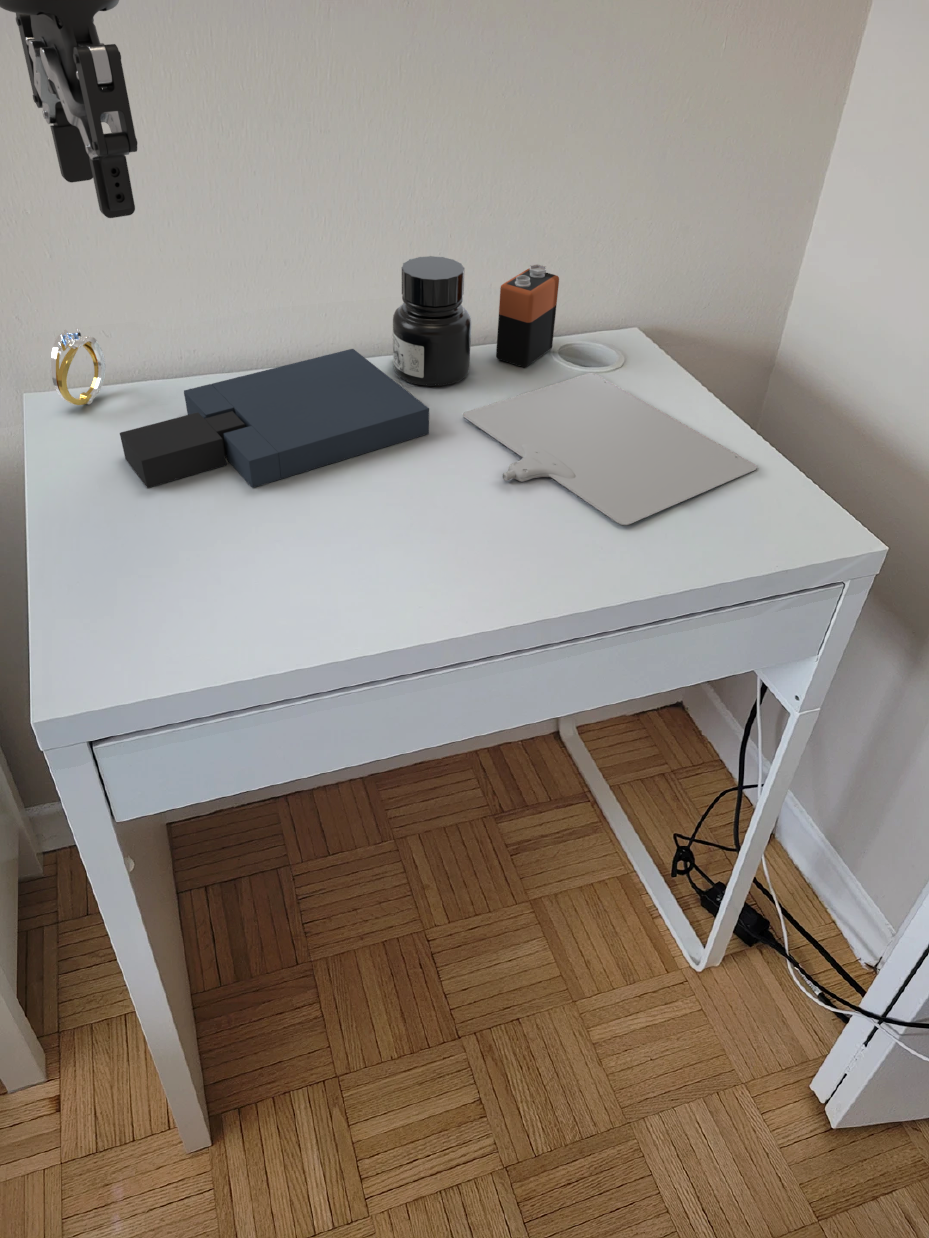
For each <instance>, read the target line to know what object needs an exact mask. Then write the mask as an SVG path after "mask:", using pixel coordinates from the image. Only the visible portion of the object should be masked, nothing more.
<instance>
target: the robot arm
mask: <svg viewBox="0 0 929 1238" xmlns="http://www.w3.org/2000/svg"><path fill="white" fill-rule="evenodd" d="M119 2H120V0H0V8H1V9H3V10H5V11H7V12H11V13H15V23H16V25H17V27H18V32H19V36H20V40H21V45H22V50H23V55H24V58H25V63H26V67H27V72H28V77H29V81H30V86H31V90H32V91H31V92H32V99H33V100H32V101H33V102H34V103H35V106H36V107H37V108H38V109H42V117H43V119H45V122H46V123H47V125H50V126H49V127H50V131H51V135H52V140H53V144H54V148H55V149H54V150H55V153H56V157H57V162H58V166H59V171H60V175H61V177H62V178H63V179H64V180H65V181H67V182H68V183H79V182H85V181H90V180H93V184H94V188H95V194H96V199H97V204H98V208H99V211H100V213H101V214H102V215H103V216H105V218H107V219H114V218H122V217H127V216H132V215H133V214H134V213H135V211H136V204H135V200H134V194H133V188H132V183H131V178H130V172H129V171H130V170H129V167H128V162H127V156H129V155H130V153H137V152H138V139H137V136H136V132H135V126H134V121H133V116H132V110H131V105H130V101H129V100H130V99H129V94H128V89H127V84H126V79H125V74H124V69H123V63H122V55H121V52H120V50H119V47H118V46H117V44H116V43H112V44H110V43H109V44H105V43H103V42H101V41H100V38H99V35H98V31H97V27H96V25H95V19H94V17H95V16H96V14H97V13H98V12H107V11H111V10H113V9H114V8H115V7H117V6H118V5H119ZM102 123H105V124H106V125H108V127H109V130H110V132H109V133H107V132H106V133H104V130H103V129H104V128H103V124H102Z"/></svg>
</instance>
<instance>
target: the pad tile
mask: <svg viewBox="0 0 929 1238" xmlns="http://www.w3.org/2000/svg"><path fill="white" fill-rule="evenodd" d="M242 428H245V424H244V423H243V422H242V421H241V420H240V419H239V418H238V417H237V416H236V415H235V413H234V412H233V411H231V412H228V413H224V414H220V415H216V416H213V417H209V418H205V419H204V418H203V417H202V416H201V415H200V414H199V413H198V412H197V413H193V414H189V415H188V414H185V415H183V416H178V417H174V418H171V419H167V420H163V421H159V422H155V423H152V424H147V425H144V426H140V427H136V428H133V429H128V430H124V431H121V432H119V436H120V441H121V445H122V449H123V454H124V460H125V461H126V462H127V464H128V465H129V466H130V468H131V469H132V470H133V471H134V473H136V475H137V477H138V478H139V479H140V481H141V482H142V483H143V484H144V486H145V487H146V488H147V489H149V488H153V487H156V486H159V485H164V484H167V483H170V482H173V481H176V480H180V479H183V478H186V477H191V476H194V475H197V474H200V473H204V472H208V471H211V470H214V469H217V468H221V467H224V466H227V461H226V460H227V459H226V458H227V455H226V448H225V441H224V433H227V432H231V431H234V430H238V429H242Z"/></svg>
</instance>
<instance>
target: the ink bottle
mask: <svg viewBox="0 0 929 1238" xmlns="http://www.w3.org/2000/svg"><path fill="white" fill-rule="evenodd" d="M465 269H466V268H465V267H464V266H463V264H462V263H461V262H459V261H457V260H455V259H453V258H449V257H445V256H434V255H429V256H427V255H426V256H417V257H413V258H410V259H407V260H406V261H405V262H403V263H402V266H401V299H402V302H403V303H402V304H400V305H399V306H398V307H397V308H396V309H395V311H394V313H393V316H392V364H393V365H392V367H393V370H394V372H395V374H396V375H397V376H398V377H399V378H401V380H404V381H405V382H407V383H410V384H414V385H418V386H430V387H431V386H432V387H433V386H435V387H436V386H437V387H438V386H447V385H451V384H454V383H455V384H456V383H458V382H460V381H462V380H463V379H464V378H466V377H467V376H468V374H469V372H470V366H471V365H470V364H471V345H472V343H471V342H472V322H473V321H472V317H471V314H470V312H469V311H468V309H467V308H465V307H464V306H463V305H462V304H463V301H464V295H465V294H464V293H465V292H464V291H465Z"/></svg>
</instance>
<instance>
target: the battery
mask: <svg viewBox="0 0 929 1238" xmlns="http://www.w3.org/2000/svg"><path fill="white" fill-rule="evenodd" d="M559 285H560V277H559V276H558V275H556V274H554V273H549V272H547V266H546V265H543V264H539V263H537V264H532V265H529V268H527V269H525V270H523V271H522V272H520V273H518V274H517V275H515V276H514V277H512V278H510V279H508V280H507V281H505V282H504V283H503V284H501V285H500V288H499V289H500V290H499V302H498V303H499V304H498V320H497V321H498V322H497V334H496V335H497V336H496V352H495V356H496V359H497V360H500V361H502V362H506V363H508V364H512V365H515V366H517V367H518V366H519V367H522V368H527V367H528V366H530V365H531V364H532V363H534V362H535V361H537V360H538V359H539V358H541V357H542V356H543V355H545V354H547V353H548V352H549V351H550V350H551V349H552V348H553V342H554V334H555V333H554V331H555V323H556V314H557V313H556V312H557V306H558V305H557V303H558V295H559Z"/></svg>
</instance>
